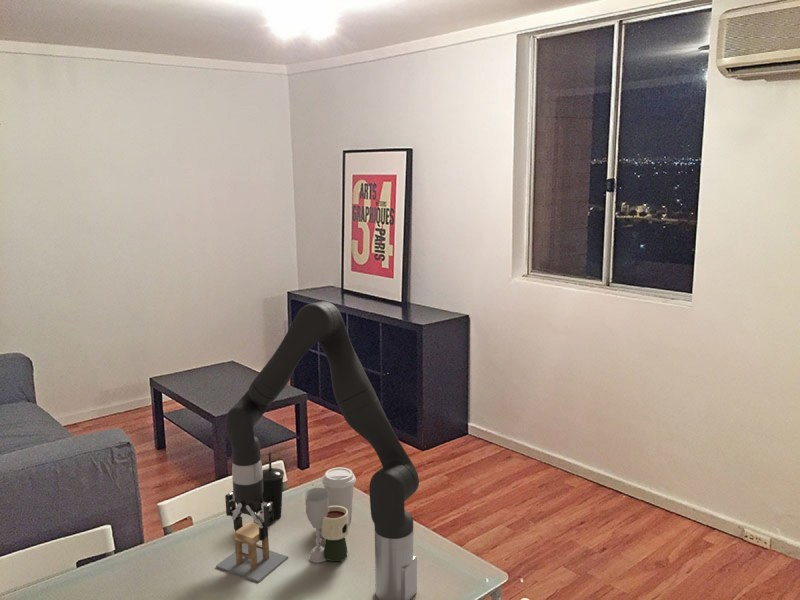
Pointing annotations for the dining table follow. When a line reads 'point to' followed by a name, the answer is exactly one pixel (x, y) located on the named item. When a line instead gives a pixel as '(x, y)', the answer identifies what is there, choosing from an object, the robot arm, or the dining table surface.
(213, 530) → the dining table surface
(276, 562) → the mat
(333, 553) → the character mug
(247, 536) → the light wood stool
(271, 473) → the drinking cup
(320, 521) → the chalice
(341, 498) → the coffee cup
